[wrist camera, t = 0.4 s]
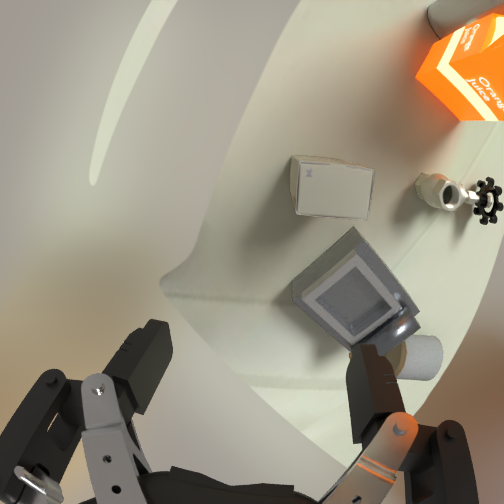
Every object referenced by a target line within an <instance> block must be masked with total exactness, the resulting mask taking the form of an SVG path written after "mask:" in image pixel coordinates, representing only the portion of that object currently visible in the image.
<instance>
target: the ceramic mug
mask: <svg viewBox="0 0 504 504" xmlns="http://www.w3.org/2000/svg"><path fill="white" fill-rule="evenodd" d="M385 357H386V358H387V359H388V361H389V362H390V363H391V364H392V367H393V370H394V373H395V374H394V376H395V377H396V379H409V380H422V381H428V380H431V379H432V378H434V377H435V375H436V374H437V373H438V371H439V369H440V367H441V364H442V360H443V347H442V344H441V342H440V340H439V339H438V338H437V337H435V336H425V335H411V336H410V337H408V338H407V339H406V340H404V341H403V342H402V343H400V344H399V345H398V346H396V347H395V348H394V349H392V350H391V351H389V352H388V353H386V354H385Z"/></svg>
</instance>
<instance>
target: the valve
mask: <svg viewBox="0 0 504 504" xmlns="http://www.w3.org/2000/svg"><path fill="white" fill-rule="evenodd" d="M486 181H488V184H487V185H486V183H485V182H484V181H481V180H479V181H478V182H477V186H478V187H480V188H481V189H480V191H479V192H476V193H475V192H473V191H470V190H465V189H464V187H463V185H462V184H460V183H457V182H454V181H450V180H449V179H448V178H447V177H445V176H444V175H442V174H437V173H435V174H425V173H421V175H420V176H419V178H418V179H417V181H416V182H415V187H416V190H417V193H418V196H419V198H421V199H423V200H425V201H426V202H427V203H428V204H429V205H431V206H432V207H435V208H440V209H442V210H447V211H455V210H456V209H457V208H458V206H461V205H462V204H463V202H465V203H467V204H472V205H474V203H475V205H476V206H478V207H477V208H476V207H474V209H473V212H474V214H475V215H482V219H480V223H481V224H483V225H487V224H488V218H490V220H489V222H490V223H494V224H495V223H496V222H497V216H496V215H495V214H496V211H497V210H498V211H502V210H503V204H502V203H501V202H499V201H498V196H499V195H501V194H502V188H501V187H499V186H494V187H495V188H494V187H493V185H494V179H493V178H490V177H487V178H486ZM489 192H490V193H492V194H493V198H494V203H493V208H492V210H491V211H490V212H489V213H488V212H486V211H485V209H484V208H486V207H488V208H489V207H490V206H491V204H492V199H491V196H488V195H487V193H489Z"/></svg>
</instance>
